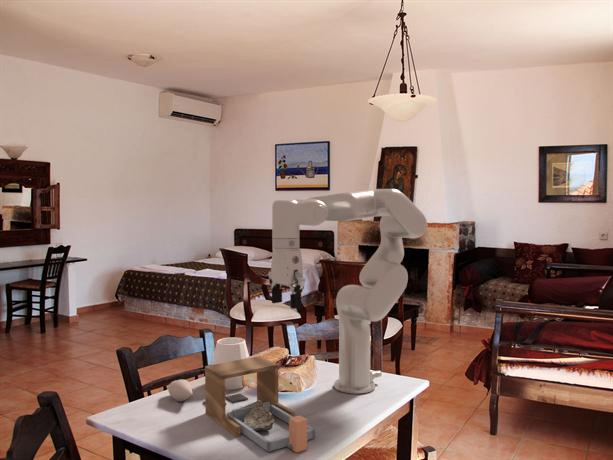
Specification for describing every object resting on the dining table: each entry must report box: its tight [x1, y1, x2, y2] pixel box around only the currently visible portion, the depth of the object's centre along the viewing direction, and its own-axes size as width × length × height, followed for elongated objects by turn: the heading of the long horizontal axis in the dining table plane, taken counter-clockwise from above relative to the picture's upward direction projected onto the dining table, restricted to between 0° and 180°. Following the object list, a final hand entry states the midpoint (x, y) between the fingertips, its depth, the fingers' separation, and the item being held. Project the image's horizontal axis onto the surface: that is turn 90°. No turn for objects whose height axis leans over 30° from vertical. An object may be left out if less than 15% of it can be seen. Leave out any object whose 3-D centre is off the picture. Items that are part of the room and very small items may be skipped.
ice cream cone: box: [167, 379, 193, 402], centre depth 158 cm, size 6×6×15 cm
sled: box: [227, 402, 316, 453], centre depth 136 cm, size 13×24×7 cm, turn 35°
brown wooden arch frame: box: [202, 355, 296, 438], centre depth 149 cm, size 17×26×13 cm, turn 35°
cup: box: [211, 337, 250, 391], centre depth 172 cm, size 13×13×14 cm
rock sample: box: [241, 400, 275, 432], centre depth 139 cm, size 10×8×9 cm
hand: (286, 305), depth 154 cm, fingers open, 9 cm apart
